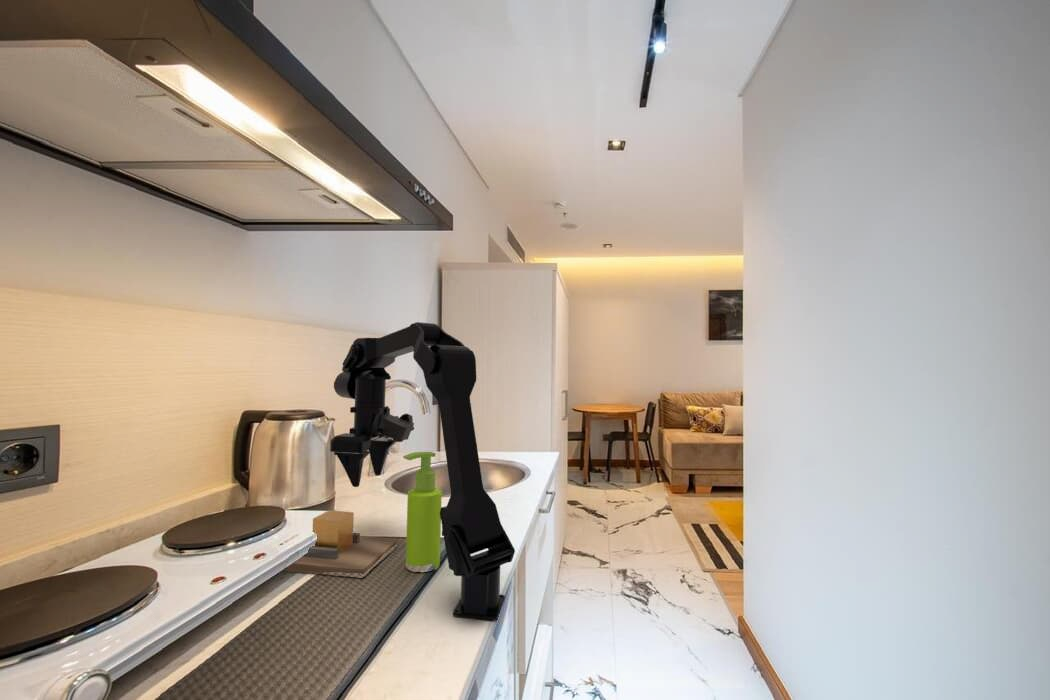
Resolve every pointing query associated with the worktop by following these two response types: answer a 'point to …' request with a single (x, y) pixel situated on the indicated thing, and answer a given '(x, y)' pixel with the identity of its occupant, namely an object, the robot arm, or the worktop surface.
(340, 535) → the block
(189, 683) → the worktop surface
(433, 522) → the soap dispenser
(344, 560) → the dock
